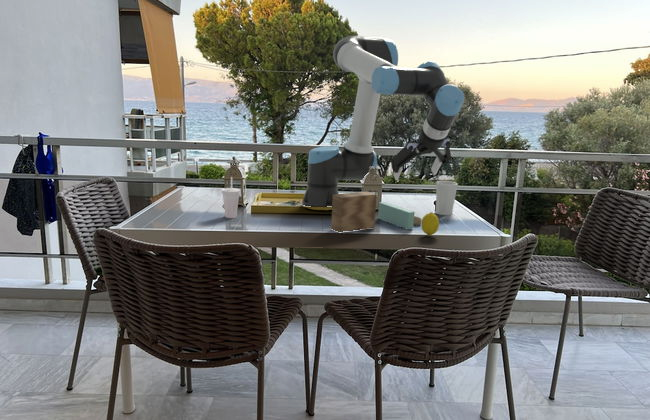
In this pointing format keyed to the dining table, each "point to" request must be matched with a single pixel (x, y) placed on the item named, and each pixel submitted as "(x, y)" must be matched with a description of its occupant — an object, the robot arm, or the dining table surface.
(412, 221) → the rail
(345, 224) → the slab
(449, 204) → the cup
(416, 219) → the roller
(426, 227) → the lemon
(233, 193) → the smoothie
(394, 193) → the dining table surface
